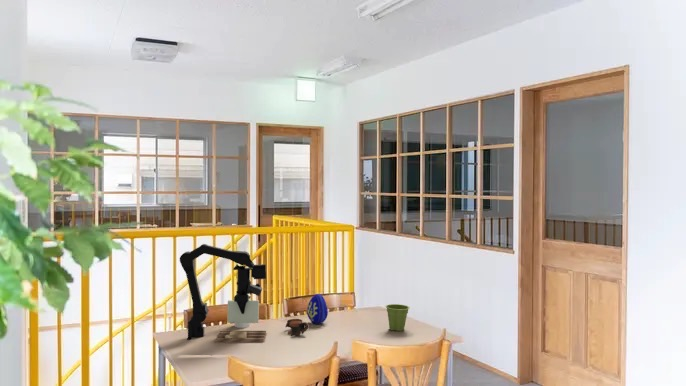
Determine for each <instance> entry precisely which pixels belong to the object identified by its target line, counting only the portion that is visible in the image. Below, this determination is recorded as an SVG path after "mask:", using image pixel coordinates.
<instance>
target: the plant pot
mask: <svg viewBox="0 0 686 386" xmlns="http://www.w3.org/2000/svg"><path fill="white" fill-rule="evenodd" d="M385 308H386V312H387V317H388V328H389V330H391V331H397V332H400V331H404V330H405V326H406V321H407V317H408V313H409V309H410V306H408V305H405V304H399V303H398V304H396V303H395V304H394V303H393V304H392V303H391V304H386V305H385Z"/></svg>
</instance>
